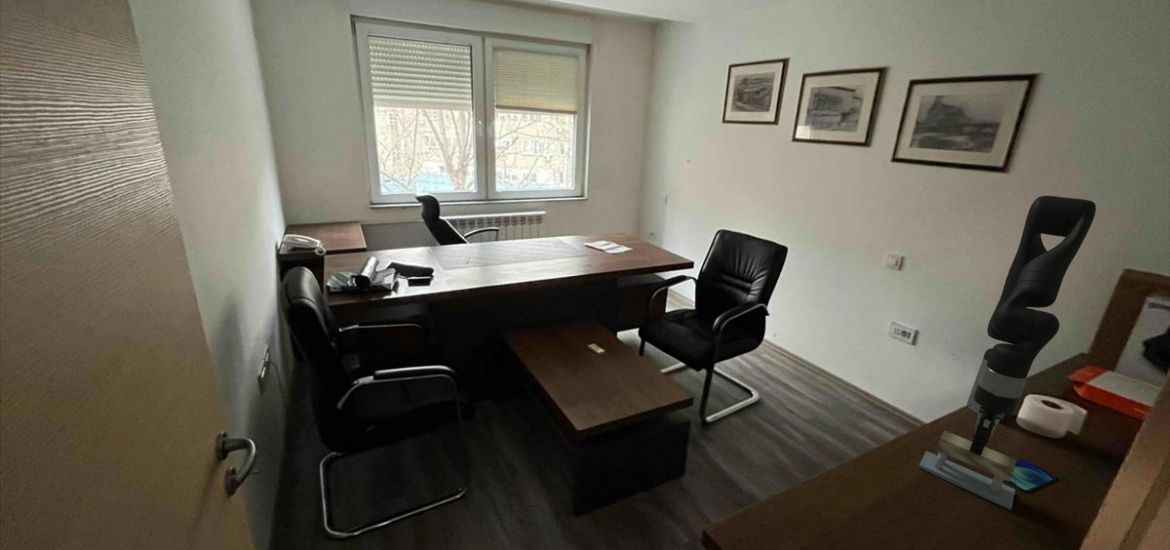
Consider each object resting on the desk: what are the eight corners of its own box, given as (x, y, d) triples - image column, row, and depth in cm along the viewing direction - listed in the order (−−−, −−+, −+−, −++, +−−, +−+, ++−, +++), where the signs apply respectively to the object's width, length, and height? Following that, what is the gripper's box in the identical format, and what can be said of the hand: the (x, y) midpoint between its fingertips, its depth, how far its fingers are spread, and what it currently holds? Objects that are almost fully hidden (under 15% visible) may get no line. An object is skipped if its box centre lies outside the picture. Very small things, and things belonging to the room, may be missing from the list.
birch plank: (1011, 471, 108) (1016, 459, 107) (1008, 481, 105) (1013, 469, 104) (940, 441, 118) (944, 430, 117) (936, 449, 115) (940, 438, 114)
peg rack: (918, 467, 117) (924, 448, 115) (925, 454, 122) (931, 435, 120) (1010, 510, 105) (1019, 489, 103) (1013, 492, 110) (1022, 472, 108)
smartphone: (1060, 477, 115) (1026, 491, 110) (1058, 480, 116) (1025, 494, 110) (1023, 458, 122) (990, 470, 116) (1022, 460, 122) (989, 473, 117)
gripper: (983, 371, 113) (963, 425, 118) (974, 391, 103) (953, 450, 108) (1023, 383, 107) (1001, 440, 113) (1018, 406, 98) (994, 467, 103)
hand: (977, 445), depth 110 cm, fingers open, 8 cm apart
